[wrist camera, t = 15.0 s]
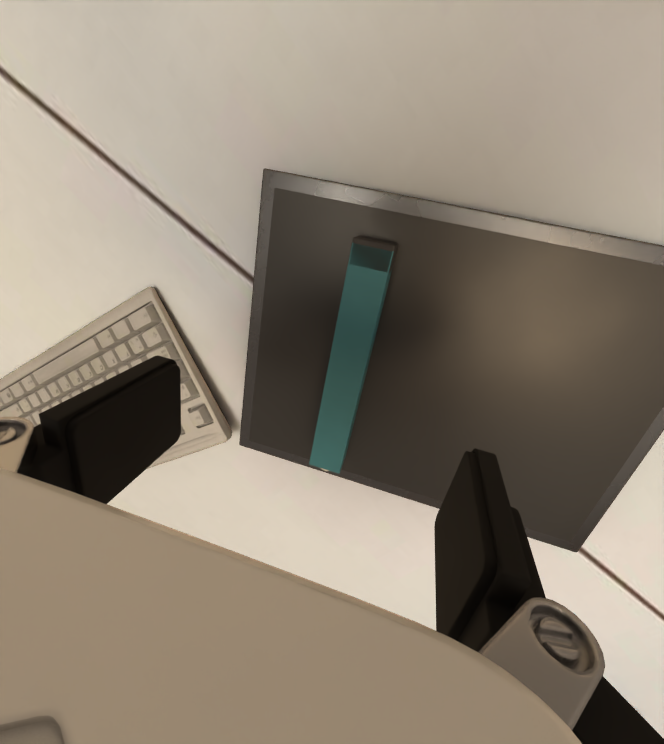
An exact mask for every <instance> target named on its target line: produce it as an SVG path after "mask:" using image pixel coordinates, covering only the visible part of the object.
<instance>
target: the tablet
mask: <svg viewBox="0 0 664 744" xmlns="http://www.w3.org/2000/svg"><path fill="white" fill-rule="evenodd" d="M356 236H366V237H370V238H375V239H380V240H384V241H389V242H394V243H397V244H398V249H397V253H396V257H395V261H394V265H393V269H392V272H391V276H390V280H389V284H388V288H387V292H386V296H385V300H384V304H383V308H382V312H381V316H380V320H379V324H378V328H377V332H376V336H375V340H374V344H373V348H372V352H371V356H370V360H369V364H368V368H367V372H366V376H365V380H364V384H363V388H362V392H361V396H360V400H359V404H358V408H357V412H356V416H355V420H354V424H353V428H352V432H351V437H350V441H349V445H348V449H347V453H346V456H345V459H344V462H343V465H342V468H341V471H340V473H339V474H338V473H335V472H332V471H324V470H322V469H321V468H319V467H316V466H313V465H310V464H309V461H310V456H311V451H312V446H313V441H314V436H315V430H316V425H317V420H318V415H319V410H320V405H321V400H322V395H323V389H324V384H325V379H326V374H327V369H328V364H329V359H330V354H331V348H332V343H333V338H334V333H335V328H336V323H337V318H338V312H339V307H340V302H341V297H342V292H343V287H344V282H345V277H346V271H347V266H348V260H349V255H350V249H351V244H352V239H353V237H356ZM663 430H664V246H662V245H657V244H652V243H647V242H642V241H637V240H631V239H626V238H621V237H616V236H611V235H606V234H600V233H595V232H590V231H585V230H580V229H575V228H569V227H564V226H559V225H554V224H549V223H544V222H539V221H533V220H528V219H523V218H518V217H513V216H508V215H502V214H497V213H492V212H487V211H482V210H477V209H471V208H466V207H461V206H456V205H451V204H446V203H441V202H435V201H430V200H425V199H420V198H415V197H410V196H404V195H399V194H394V193H389V192H384V191H379V190H373V189H368V188H363V187H358V186H353V185H348V184H342V183H337V182H332V181H327V180H322V179H317V178H312V177H306V176H301V175H296V174H291V173H286V172H281V171H275V170H270V169H264V170H263V180H262V191H261V203H260V214H259V226H258V237H257V248H256V260H255V271H254V283H253V294H252V306H251V317H250V329H249V340H248V352H247V363H246V374H245V386H244V397H243V409H242V420H241V432H240V443H239V444H240V445H241V446H245V447H248V448H251V449H254V450H257V451H260V452H263V453H267V454H270V455H273V456H276V457H279V458H282V459H285V460H288V461H292V462H295V463H298V464H301V465H304V466H307V467H310V468H313V469H317V470H320V471H323V472H326V473H329V474H332V475H335V476H339V477H342V478H345V479H348V480H351V481H354V482H357V483H360V484H364V485H367V486H370V487H373V488H376V489H379V490H382V491H385V492H389V493H392V494H395V495H398V496H401V497H404V498H407V499H411V500H414V501H417V502H420V503H423V504H426V505H429V506H432V507H436V508H439V509H440V508H441V505H442V503H443V501H444V498H445V496H446V494H447V492H448V489H449V487H450V485H451V482H452V480H453V478H454V476H455V473H456V471H457V469H458V466H459V464H460V462H461V460H462V457H463V455H464V453H465V452H466V451H469V452H472V450H473V449H475V448H476V449H480V450H483V451H486V452H490V453H493V454H495V455H496V457H497V460H498V464H499V467H500V471H501V474H502V478H503V481H504V485H505V488H506V492H507V495H508V499H509V502H510V506H511V507H514V508H516V509H517V510H518V511H519V514H520V516H521V519H522V523H523V526H524V529H525V532H526V536H527V537H529V538H533V539H536V540H539V541H542V542H545V543H548V544H551V545H554V546H558V547H561V548H564V549H567V550H570V551H573V552H578V550H579V549H580V548H581V546H582V545H583V543H584V542H585V540H586V539H587V538H588V536H589V535H590V533H591V532H592V531H593V529H594V528H595V526H596V525H597V524H598V522H599V521H600V519H601V518H602V516H603V515H604V514H605V512H606V511H607V509H608V508H609V507H610V505H611V504H612V502H613V501H614V500H615V498H616V497H617V495H618V494H619V493H620V491H621V490H622V488H623V487H624V485H625V484H626V483H627V481H628V480H629V478H630V477H631V476H632V474H633V473H634V471H635V470H636V469H637V467H638V466H639V464H640V463H641V462H642V460H643V459H644V457H645V456H646V454H647V453H648V452H649V450H650V449H651V447H652V446H653V445H654V443H655V442H656V440H657V439H658V438H659V436H660V435H661V433H662V432H663Z"/></svg>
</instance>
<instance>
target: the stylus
mask: <svg viewBox="0 0 664 744" xmlns="http://www.w3.org/2000/svg"><path fill="white" fill-rule="evenodd" d="M397 249H398V244H397V243H394V242H389V241H384V240H380V239H375V238H370V237H366V236H356V237H353V239H352V244H351V249H350V255H349V260H348V266H347V271H346V277H345V282H344V287H343V292H342V297H341V302H340V307H339V312H338V318H337V323H336V328H335V333H334V338H333V343H332V348H331V354H330V359H329V364H328V369H327V374H326V379H325V384H324V389H323V395H322V400H321V405H320V410H319V415H318V420H317V425H316V430H315V436H314V441H313V446H312V451H311V456H310V461H309V464H310V465H313V466H316V467H319V468H321V469H322V470H324V471H332V472H335V473H338V474H339V473H340V471H341V468H342V465H343V462H344V459H345V456H346V453H347V449H348V445H349V441H350V437H351V432H352V428H353V424H354V420H355V416H356V412H357V408H358V404H359V400H360V396H361V392H362V388H363V384H364V380H365V376H366V372H367V368H368V364H369V360H370V356H371V352H372V348H373V344H374V340H375V336H376V332H377V328H378V324H379V320H380V316H381V312H382V308H383V304H384V300H385V296H386V292H387V288H388V284H389V280H390V276H391V272H392V269H393V265H394V261H395V257H396V253H397Z"/></svg>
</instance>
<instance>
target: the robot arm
mask: <svg viewBox="0 0 664 744" xmlns="http://www.w3.org/2000/svg"><path fill="white" fill-rule="evenodd" d="M39 418H40V423H41V424H39V425H37V426H35V427H34V425H33V423H32V422H31V421H30V420H28V419H25V418H22V417H15V416H14V417H0V744H664V739H663V738H662V737H661V736H660V735H659V734H658V733H657V732H656V731H655V730H654V728H653V727H652V726H651V725H650V724H649V723H648V722H647V721H646V720H645V719H644V718H643V717H642V716H641V715H640V714H639V713H638V712H637V711H636V710H635V709H634V708H633V707H632V706H631V705H630V704H629V703H628V702H627V701H626V700H625V699H624V698H623V697H622V696H621V695H620V693H619V692H618V691H617V690H616V689H615V688H614V687H613V686H612V685H611V684H610V683H609V682H608V681H607V680H606V679H605V678H604V677H603V673H604V668H605V662H604V657H603V652H602V650H601V648H600V646H599V644H598V642H597V640H596V638H595V637H594V635H593V634H592V633H591V631H590V630H589V628H588V627H587V626H586V625H585V624H584V623H583V622H582V621H581V620H580V619H579V618H578V617H577V616H576V615H575V614H574V613H572V612H571V611H570V610H568V609H567V608H566V607H564V606H563V605H561V604H559V603H557V602H555V601H553V600H550V599H546V597H545V594H544V591H543V588H542V584H541V581H540V578H539V575H538V571H537V568H536V565H535V562H534V558H533V555H532V552H531V549H530V545H529V542H528V539H527V536H526V532H525V529H524V526H523V523H522V519H521V516H520V514H519V511H518V510H517V509H516V508H514V507H511V506H510V502H509V499H508V495H507V492H506V488H505V485H504V481H503V478H502V474H501V471H500V467H499V464H498V460H497V457H496V455H495V454H493V453H490V452H486V451H483V450H480V449H476V448H475V449H473V450H472V452H469V451H466V452H465V453H464V455H463V457H462V460H461V462H460V464H459V466H458V469H457V471H456V473H455V476H454V478H453V480H452V482H451V485H450V487H449V489H448V492H447V494H446V496H445V498H444V501H443V503H442V505H441V508H440V510H439V512H438V514H437V517H436V521H435V576H436V630H437V631H435V630H433V629H430V628H428V627H426V626H424V625H422V624H419V623H417V622H415V621H412V620H410V619H407V618H405V617H402V616H400V615H397V614H395V613H392V612H390V611H387V610H385V609H382V608H380V607H377V606H375V605H372V604H370V603H367V602H365V601H362V600H360V599H357V598H355V597H352V596H350V595H347V594H344V593H342V592H339V591H337V590H334V589H331V588H329V587H326V586H323V585H321V584H318V583H315V582H313V581H310V580H308V579H305V578H302V577H300V576H297V575H294V574H292V573H289V572H287V571H284V570H281V569H279V568H276V567H273V566H271V565H268V564H266V563H263V562H260V561H258V560H255V559H252V558H250V557H247V556H244V555H242V554H239V553H236V552H234V551H231V550H228V549H226V548H223V547H220V546H218V545H215V544H212V543H210V542H207V541H204V540H202V539H199V538H196V537H194V536H191V535H188V534H185V533H183V532H180V531H177V530H175V529H172V528H169V527H167V526H164V525H161V524H159V523H156V522H153V521H151V520H148V519H145V518H142V517H140V516H137V515H134V514H131V513H129V512H126V511H123V510H120V509H118V508H115V507H112V506H110V505H107V503H108V502H109V501H110V500H112V499H113V498H114V497H115V496H116V495H117V494H118V493H120V492H121V491H122V490H123V489H124V488H125V487H126V486H127V485H129V484H130V483H131V482H132V481H133V480H134V479H135V478H136V477H138V476H139V475H140V474H141V473H142V472H143V471H144V470H146V469H147V468H148V467H149V466H150V465H151V464H152V463H153V462H155V461H156V460H157V459H158V458H159V457H160V456H161V455H162V454H164V453H165V452H166V451H167V450H168V449H169V448H170V447H172V446H173V445H174V444H175V443H176V442H177V441H178V439H179V437H180V435H181V380H180V367H179V366H178V365H177V363H176V361H175V360H172V359H169V358H166V357H162V356H158V355H157V356H154V357H152V358H150V359H148V360H146V361H144V362H142V363H140V364H138V365H136V366H134V367H132V368H130V369H128V370H126V371H124V372H122V373H120V374H118V375H116V376H114V377H112V378H110V379H108V380H106V381H104V382H102V383H100V384H98V385H96V386H94V387H92V388H90V389H88V390H86V391H84V392H82V393H80V394H78V395H76V396H74V397H72V398H70V399H68V400H66V401H64V402H62V403H60V404H58V405H56V406H54V407H52V408H50V409H48V410H46V411H44V412H42V413H40V414H39Z"/></svg>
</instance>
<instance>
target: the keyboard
mask: <svg viewBox="0 0 664 744" xmlns="http://www.w3.org/2000/svg"><path fill="white" fill-rule="evenodd" d="M157 355H158V356H162V357H166V358H169V359H172V360H175V361H176V363H177V365H178V366H179V367H180V380H181V435H180V437H179V439H178V441H177V442H176V443H175V444H174V445H173V446H172V447H170V448H169V449H168V450H167V451H166V452H165V453H164V454H162V455H161V456H160V457H159V458H158V459H157V460H156V461H155V462H153V463H152V464H151V465H150V466H149V467H148V468H150V467H153V466H156V465H159V464H162V463H165V462H168V461H171V460H174V459H177V458H180V457H182V456H185V455H188V454H191V453H194V452H197V451H200V450H203V449H206V448H209V447H212V446H215V445H218V444H221V443H224V442H226V441H227V440H228V439H230V438H231V436H232V430H231V428H230V426H229V425H228V423H227V421H226V419H225V417H224V415H223V414H222V412H221V410H220V408H219V406H218V405H217V403H216V401H215V399H214V397H213V395H212V394H211V392H210V390H209V388H208V386H207V384H206V383H205V381H204V379H203V377H202V375H201V373H200V372H199V370H198V368H197V366H196V364H195V363H194V361H193V359H192V357H191V355H190V353H189V352H188V350H187V348H186V346H185V344H184V342H183V341H182V339H181V337H180V335H179V333H178V332H177V330H176V328H175V326H174V324H173V322H172V321H171V319H170V317H169V315H168V313H167V311H166V310H165V308H164V306H163V304H162V302H161V300H160V299H159V297H158V295H157V292H156V290H155V289H154V288H153V287H148V288H146V289H145V290H143V291H141V292H140V293H138V294H137V295H135V296H133V297H132V298H130V299H129V300H127V301H125V302H124V303H122V304H120V305H119V306H117V307H116V308H114V309H112V310H111V311H109V312H108V313H106V314H104V315H103V316H101V317H100V318H98V319H96V320H95V321H93V322H92V323H90V324H88V325H87V326H85V327H84V328H82V329H80V330H79V331H77V332H76V333H74V334H72V335H71V336H69V337H68V338H66V339H64V340H63V341H61V342H60V343H58V344H56V345H55V346H53V347H52V348H50V349H48V350H47V351H45V352H44V353H42V354H40V355H39V356H37V357H36V358H34V359H32V360H31V361H29V362H28V363H26V364H24V365H23V366H21V367H20V368H18V369H16V370H15V371H13V372H11V373H10V374H8V375H7V376H5V377H3V378H2V379H0V417H14V416H15V417H22V418H25V419H28V420H30V421H31V422H32V423H33V425H34V427H35V426H37V425H39V424H41V423H40V418H39V414H40V413H42V412H44V411H46V410H48V409H50V408H52V407H54V406H56V405H58V404H60V403H62V402H64V401H66V400H68V399H70V398H72V397H74V396H76V395H78V394H80V393H82V392H84V391H86V390H88V389H90V388H92V387H94V386H96V385H98V384H100V383H102V382H104V381H106V380H108V379H110V378H112V377H114V376H116V375H118V374H120V373H122V372H124V371H126V370H128V369H130V368H132V367H134V366H136V365H138V364H140V363H142V362H144V361H146V360H148V359H150V358H152V357H154V356H157Z"/></svg>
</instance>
